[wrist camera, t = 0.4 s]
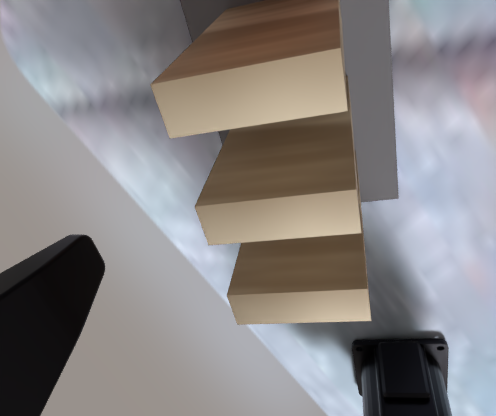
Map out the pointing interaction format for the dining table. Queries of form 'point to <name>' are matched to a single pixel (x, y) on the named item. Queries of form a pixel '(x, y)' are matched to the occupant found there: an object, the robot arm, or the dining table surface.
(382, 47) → the rubber mat
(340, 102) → the domino
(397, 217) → the dining table surface
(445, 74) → the dining table surface
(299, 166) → the domino
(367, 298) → the domino
